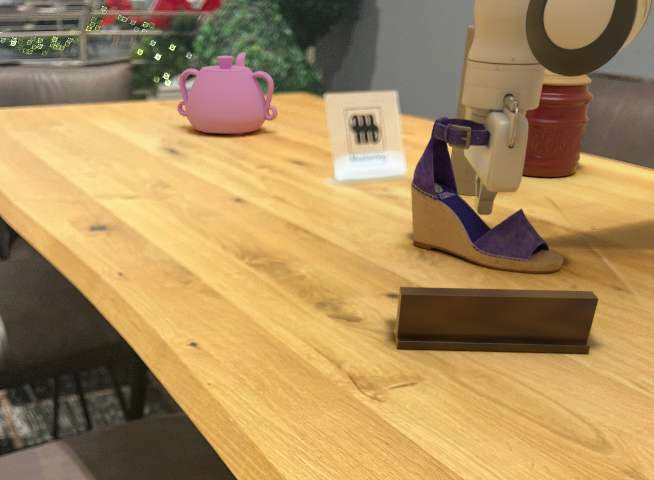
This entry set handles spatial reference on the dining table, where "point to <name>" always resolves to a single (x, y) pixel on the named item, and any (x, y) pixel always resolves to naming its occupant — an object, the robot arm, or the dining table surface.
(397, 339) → the shoe rail
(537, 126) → the kitchen canister
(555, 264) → the sandal
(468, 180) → the thermos bottle
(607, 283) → the dining table surface
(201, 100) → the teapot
